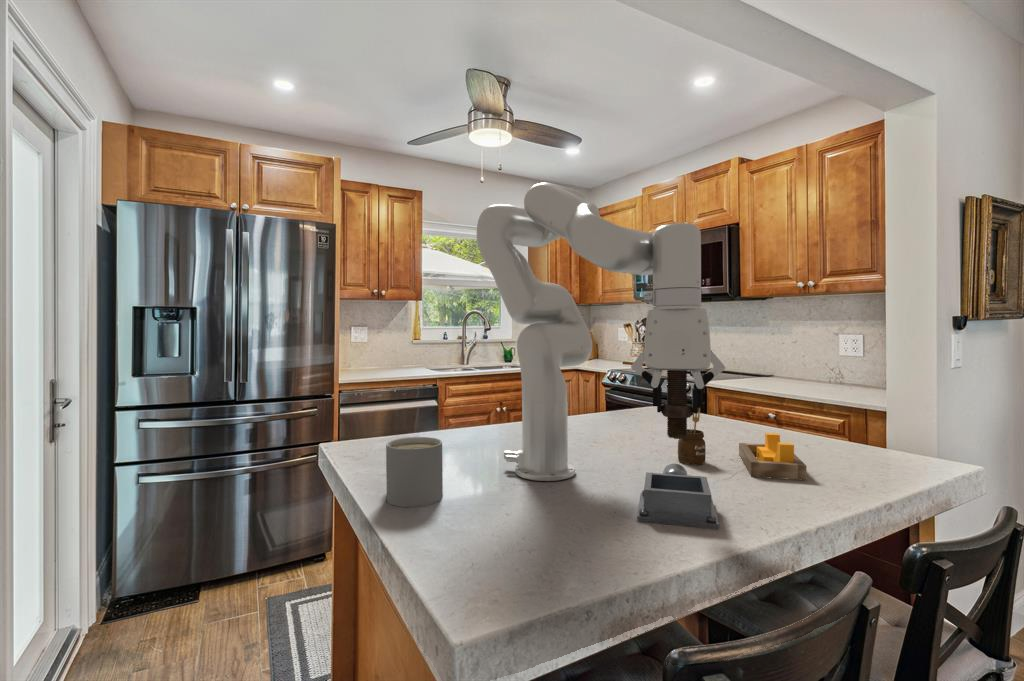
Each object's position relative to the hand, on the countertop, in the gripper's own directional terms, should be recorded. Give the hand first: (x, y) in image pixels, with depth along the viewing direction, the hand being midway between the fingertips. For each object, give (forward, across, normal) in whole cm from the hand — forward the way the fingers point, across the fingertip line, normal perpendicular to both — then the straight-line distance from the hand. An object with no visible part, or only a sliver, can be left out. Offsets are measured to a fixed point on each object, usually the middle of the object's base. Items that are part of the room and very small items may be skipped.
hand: (677, 410), depth 83 cm
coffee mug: (+17, -46, -4) cm, 50 cm away
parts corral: (+17, +20, +34) cm, 43 cm away
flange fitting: (+17, 0, +3) cm, 17 cm away
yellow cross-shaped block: (+17, +21, +34) cm, 44 cm away
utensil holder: (+17, +4, +34) cm, 38 cm away
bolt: (+5, 0, 0) cm, 5 cm away
